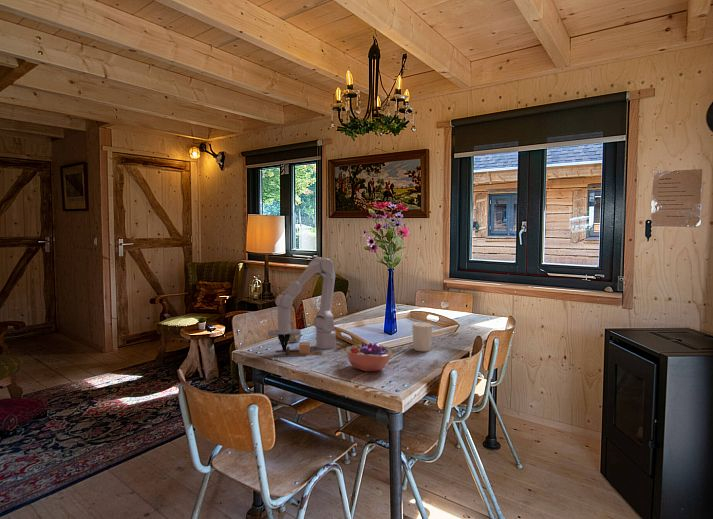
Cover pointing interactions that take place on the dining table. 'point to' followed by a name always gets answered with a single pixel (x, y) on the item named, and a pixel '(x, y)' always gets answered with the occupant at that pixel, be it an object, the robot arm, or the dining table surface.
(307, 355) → the brown boxy piece
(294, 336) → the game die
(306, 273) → the robot arm
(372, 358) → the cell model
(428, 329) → the candle holder
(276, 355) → the lane rails
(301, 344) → the block
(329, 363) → the dining table surface
